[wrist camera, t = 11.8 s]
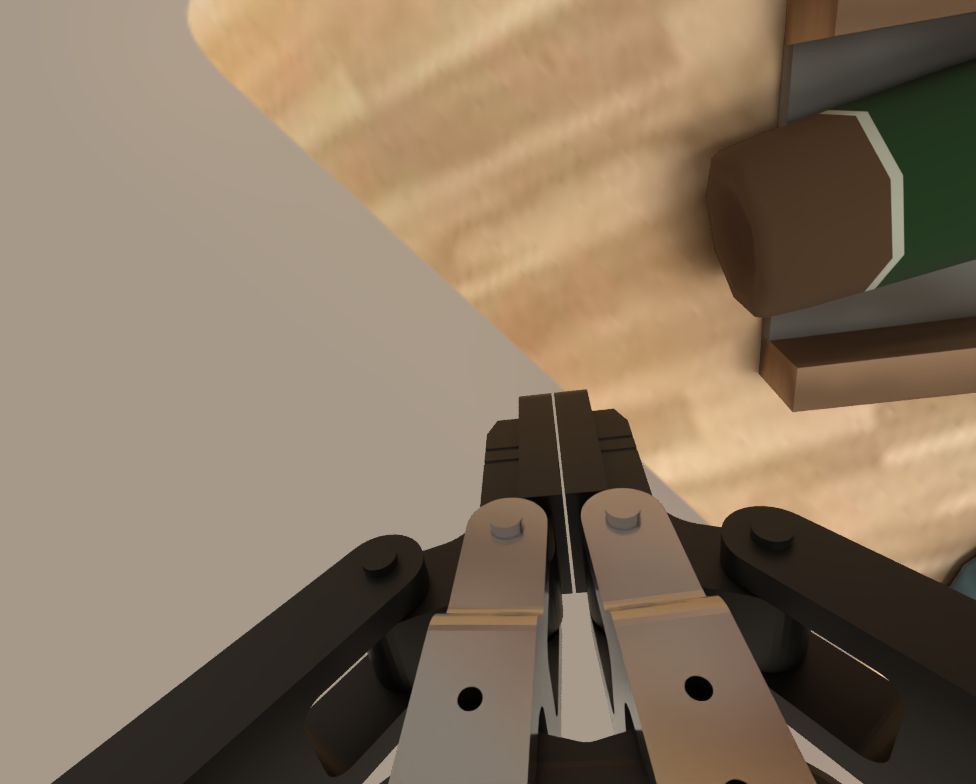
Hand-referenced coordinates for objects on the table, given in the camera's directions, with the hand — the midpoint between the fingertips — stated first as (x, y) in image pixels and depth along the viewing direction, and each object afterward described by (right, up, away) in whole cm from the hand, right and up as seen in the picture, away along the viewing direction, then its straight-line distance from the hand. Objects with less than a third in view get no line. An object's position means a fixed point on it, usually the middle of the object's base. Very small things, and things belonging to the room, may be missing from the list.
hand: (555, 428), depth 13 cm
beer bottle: (+9, +8, +12) cm, 17 cm away
